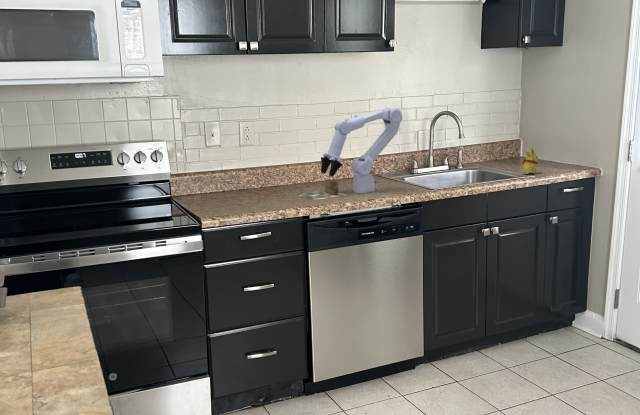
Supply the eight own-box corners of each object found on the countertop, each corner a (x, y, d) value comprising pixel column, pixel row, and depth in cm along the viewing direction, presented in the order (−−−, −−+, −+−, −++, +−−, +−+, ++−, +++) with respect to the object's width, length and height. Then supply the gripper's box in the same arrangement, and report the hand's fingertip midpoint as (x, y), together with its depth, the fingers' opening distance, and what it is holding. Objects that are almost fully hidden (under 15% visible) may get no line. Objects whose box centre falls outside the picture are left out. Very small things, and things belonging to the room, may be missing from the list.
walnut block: (333, 192, 298) (333, 180, 297) (338, 194, 295) (338, 181, 293) (325, 194, 296) (324, 181, 295) (330, 195, 292) (329, 182, 291)
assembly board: (332, 193, 304) (332, 188, 303) (348, 197, 292) (347, 192, 291) (299, 197, 295) (298, 192, 295) (313, 202, 283) (313, 197, 283)
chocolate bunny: (540, 173, 342) (541, 145, 339) (527, 175, 336) (528, 147, 333) (530, 172, 347) (531, 144, 344) (516, 174, 342) (517, 146, 339)
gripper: (321, 141, 295) (312, 169, 296) (337, 146, 283) (327, 174, 284) (334, 146, 299) (324, 173, 300) (350, 150, 287) (340, 179, 288)
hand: (326, 174), depth 292 cm, fingers open, 7 cm apart
